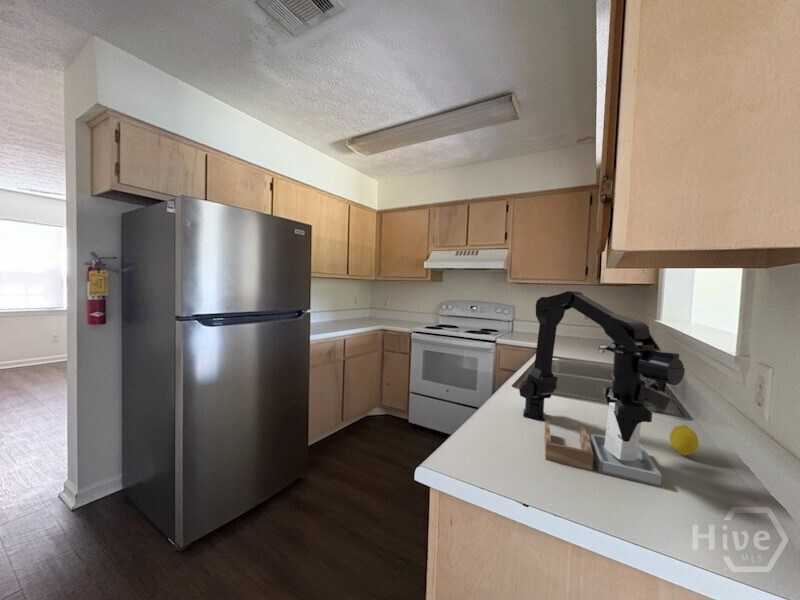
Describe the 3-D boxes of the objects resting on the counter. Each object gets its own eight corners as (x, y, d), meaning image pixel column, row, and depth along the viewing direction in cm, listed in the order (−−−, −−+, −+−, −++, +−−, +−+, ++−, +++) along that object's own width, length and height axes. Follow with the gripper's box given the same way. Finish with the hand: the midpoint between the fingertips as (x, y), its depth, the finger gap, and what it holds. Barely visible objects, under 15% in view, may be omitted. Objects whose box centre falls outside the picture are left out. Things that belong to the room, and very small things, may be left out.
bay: (544, 433, 92) (545, 420, 92) (583, 441, 88) (584, 427, 88) (545, 459, 78) (546, 443, 78) (592, 470, 74) (593, 453, 74)
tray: (588, 442, 87) (589, 433, 87) (639, 453, 83) (640, 443, 83) (598, 472, 73) (599, 461, 73) (660, 487, 68) (661, 475, 68)
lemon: (670, 447, 86) (672, 419, 86) (697, 456, 82) (700, 425, 82) (667, 454, 83) (670, 424, 82) (696, 463, 79) (699, 432, 78)
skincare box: (603, 447, 81) (606, 401, 80) (620, 448, 81) (623, 402, 80) (620, 461, 75) (624, 411, 74) (639, 461, 75) (643, 411, 74)
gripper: (685, 388, 65) (679, 462, 66) (654, 368, 82) (650, 426, 83) (621, 380, 70) (615, 449, 70) (604, 362, 87) (600, 418, 87)
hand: (622, 434), depth 78 cm, fingers closed on skincare box, 7 cm apart
